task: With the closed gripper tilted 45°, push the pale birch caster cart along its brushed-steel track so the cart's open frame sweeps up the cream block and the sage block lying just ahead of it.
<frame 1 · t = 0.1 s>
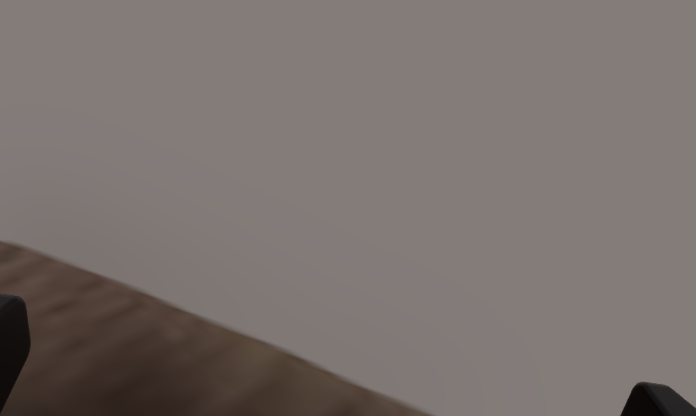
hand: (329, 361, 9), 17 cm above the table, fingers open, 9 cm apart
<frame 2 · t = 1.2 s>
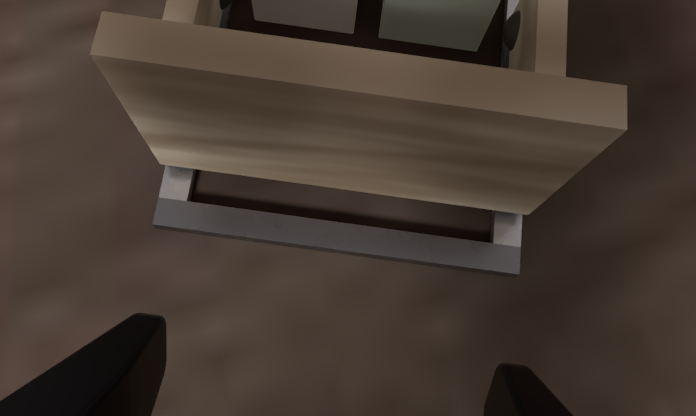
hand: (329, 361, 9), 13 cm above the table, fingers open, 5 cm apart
caster cart: (366, 36, 20), point 5 cm above the table, slide at 0.0 cm
steel track: (356, 102, 24), on the table
sage block: (431, 3, 26), on the table
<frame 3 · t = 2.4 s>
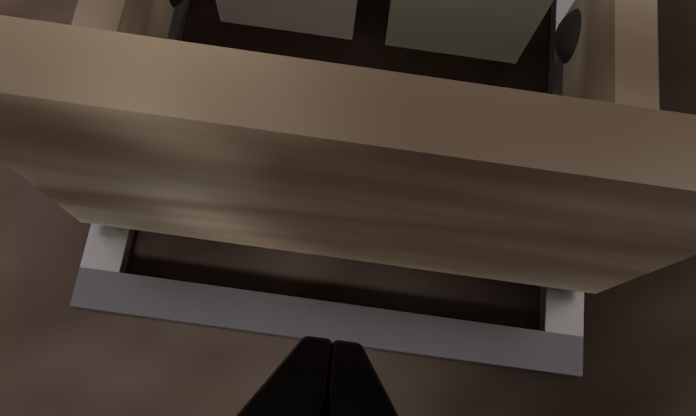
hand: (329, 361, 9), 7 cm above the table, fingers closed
caster cart: (370, 44, 14), point 5 cm above the table, slide at 0.0 cm
steel track: (356, 132, 18), on the table
sage block: (454, 0, 20), on the table
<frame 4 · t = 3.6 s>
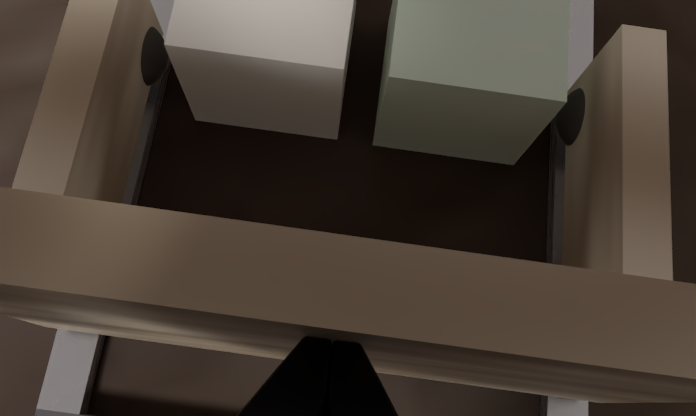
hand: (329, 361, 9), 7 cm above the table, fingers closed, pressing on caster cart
cream block: (277, 68, 18), on the table
caster cart: (356, 149, 13), point 5 cm above the table, slide at 0.8 cm, touching gripper
steel track: (340, 245, 17), on the table
sage block: (448, 93, 18), on the table
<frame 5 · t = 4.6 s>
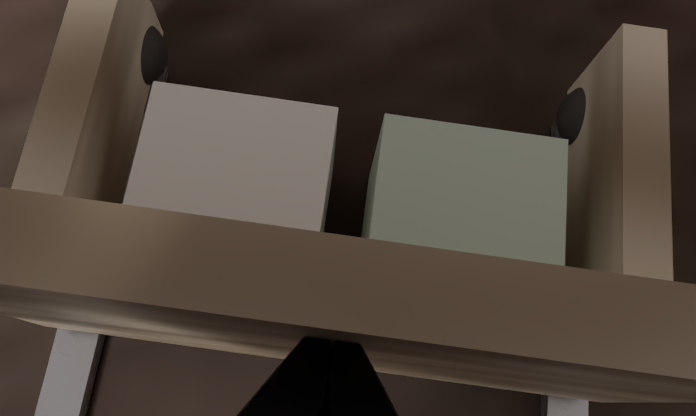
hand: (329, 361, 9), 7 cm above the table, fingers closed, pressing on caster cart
cream block: (247, 231, 17), on the table, touching caster cart
caster cart: (356, 149, 13), point 5 cm above the table, slide at 6.5 cm, touching cream block, gripper
sage block: (434, 257, 17), on the table
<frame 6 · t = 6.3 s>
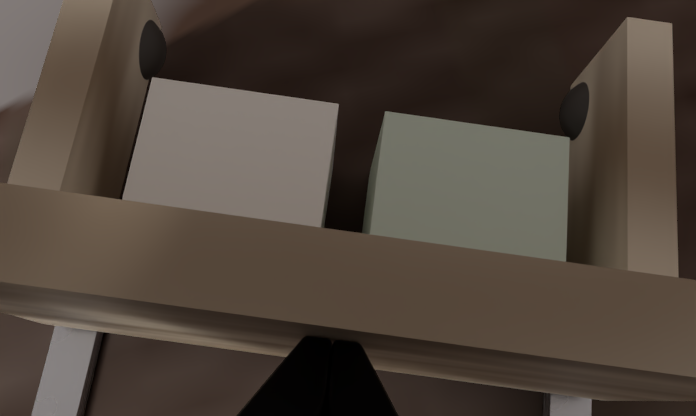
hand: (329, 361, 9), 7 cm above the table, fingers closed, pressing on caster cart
cream block: (247, 228, 17), on the table, touching caster cart
caster cart: (357, 144, 12), point 5 cm above the table, slide at 11.2 cm, touching cream block, gripper, sage block
sage block: (434, 255, 17), on the table, touching caster cart
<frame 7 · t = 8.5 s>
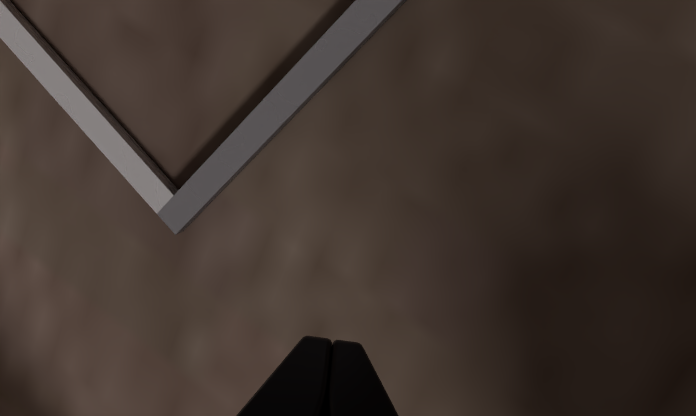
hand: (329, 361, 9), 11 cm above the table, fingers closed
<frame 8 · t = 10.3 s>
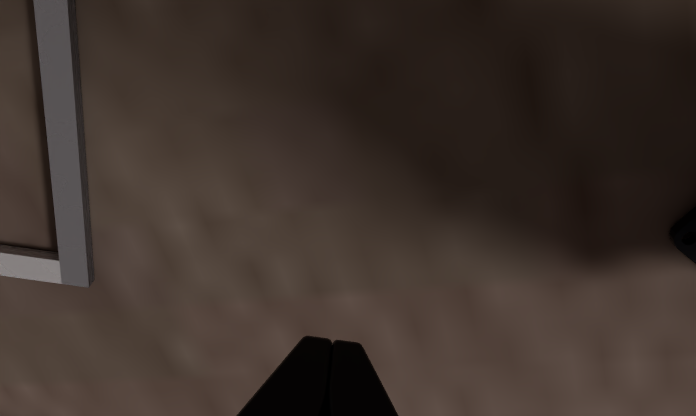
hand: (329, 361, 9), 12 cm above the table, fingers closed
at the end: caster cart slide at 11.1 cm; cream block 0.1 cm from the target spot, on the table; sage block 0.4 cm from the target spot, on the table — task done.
